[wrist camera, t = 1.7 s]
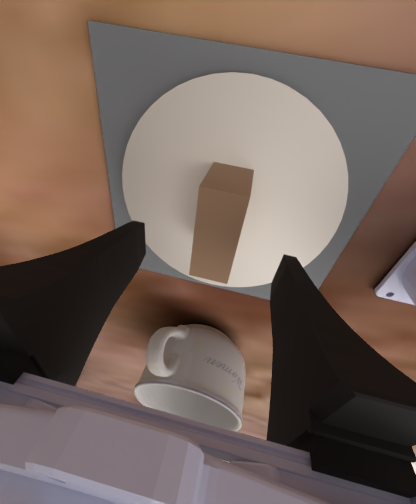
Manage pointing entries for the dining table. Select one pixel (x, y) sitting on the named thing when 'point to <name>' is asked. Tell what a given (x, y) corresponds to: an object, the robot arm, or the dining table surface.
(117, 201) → the mat
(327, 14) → the dining table surface
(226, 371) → the teacup
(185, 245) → the lid
